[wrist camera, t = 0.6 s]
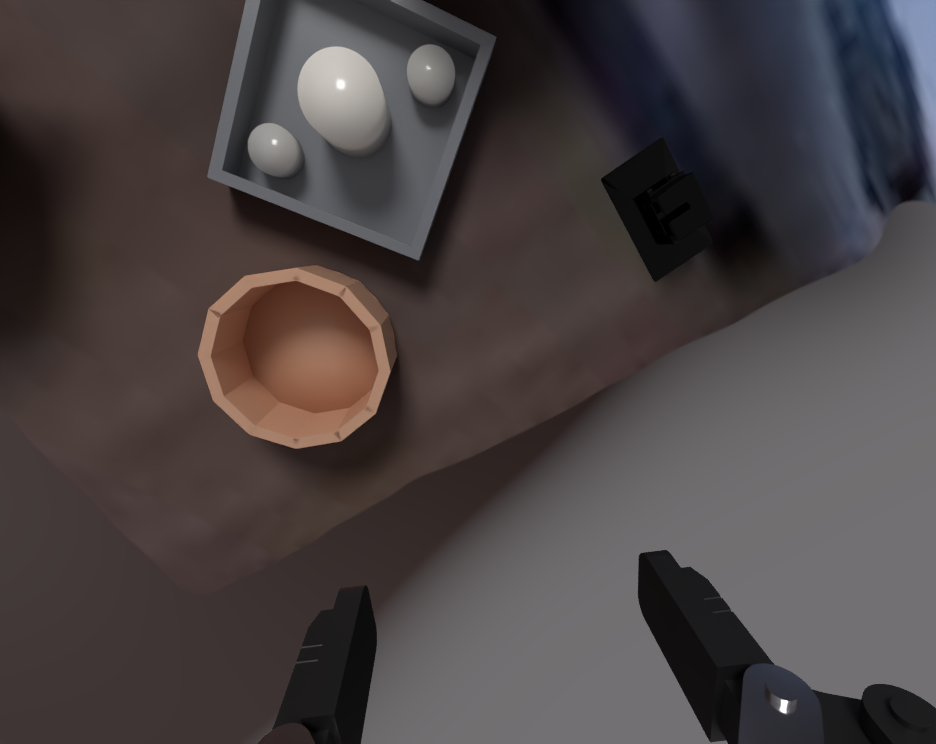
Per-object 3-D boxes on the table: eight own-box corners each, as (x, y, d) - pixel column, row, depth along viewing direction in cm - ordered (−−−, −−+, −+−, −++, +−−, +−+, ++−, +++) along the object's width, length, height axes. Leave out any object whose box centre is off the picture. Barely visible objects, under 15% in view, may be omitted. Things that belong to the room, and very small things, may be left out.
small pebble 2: (417, 47, 30) (416, 35, 28) (460, 68, 30) (462, 57, 28) (402, 96, 30) (400, 87, 29) (444, 116, 31) (445, 108, 29)
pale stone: (331, 66, 30) (310, 30, 25) (400, 97, 30) (393, 69, 26) (311, 140, 31) (287, 120, 26) (378, 168, 32) (367, 154, 27)
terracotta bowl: (260, 242, 33) (224, 240, 27) (416, 301, 35) (412, 310, 29) (223, 388, 36) (183, 414, 30) (368, 435, 38) (356, 467, 32)
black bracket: (580, 169, 34) (601, 156, 29) (661, 112, 33) (695, 89, 29) (651, 300, 37) (680, 307, 32) (727, 251, 36) (767, 250, 32)
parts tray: (281, -46, 28) (263, -79, 25) (491, 56, 31) (496, 37, 28) (228, 183, 32) (207, 177, 29) (420, 259, 34) (418, 260, 31)
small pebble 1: (264, 122, 30) (254, 115, 29) (309, 141, 31) (301, 135, 29) (253, 168, 31) (242, 163, 29) (297, 186, 32) (289, 182, 30)
